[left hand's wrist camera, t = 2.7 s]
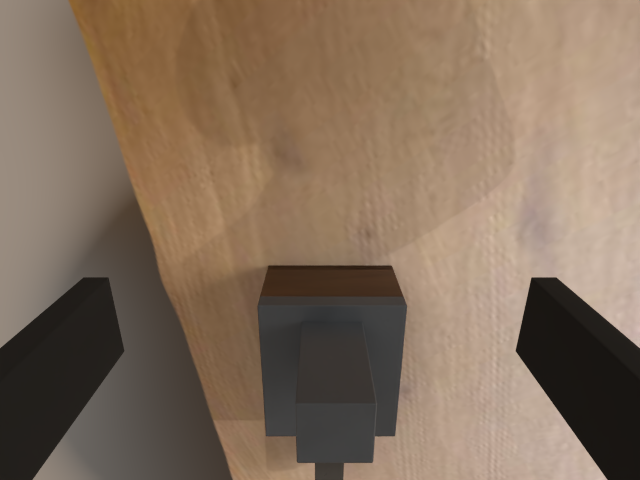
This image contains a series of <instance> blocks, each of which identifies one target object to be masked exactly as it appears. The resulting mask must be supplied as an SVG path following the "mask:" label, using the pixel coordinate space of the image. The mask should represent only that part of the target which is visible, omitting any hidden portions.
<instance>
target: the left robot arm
mask: <svg viewBox="0 0 640 480" xmlns="http://www.w3.org/2000/svg"><path fill="white" fill-rule="evenodd" d="M123 352H124V347H123V343H122V338H121V334H120V329H119V324H118V320H117V315H116V310H115V306H114V301H113V297H112V292H111V287H110V283H109V278H83V279H81V280H80V281H79V282H78V283H77V284H76V285H74V286H73V287H72V288H71V289H70V290H68V291H67V292H66V293H65V294H64V295H63V296H61V297H60V298H59V299H58V300H57V301H56V302H54V303H53V304H52V305H51V306H50V307H48V308H47V309H46V310H45V311H44V312H43V313H41V314H40V315H39V316H38V317H37V318H35V319H34V320H33V321H32V322H31V323H30V324H28V325H27V326H26V327H25V328H24V329H22V330H21V331H20V332H19V333H18V334H17V335H15V336H14V337H13V338H12V339H11V340H10V341H8V342H7V343H6V344H5V345H4V346H2V347H1V348H0V480H33V478H34V477H35V475H36V474H37V473H38V471H39V470H40V468H41V467H42V466H43V464H44V463H45V461H46V460H47V459H48V457H49V456H50V454H51V453H52V452H53V450H54V449H55V447H56V446H57V444H58V443H59V442H60V440H61V439H62V438H63V436H64V435H65V433H66V432H67V431H68V429H69V428H70V426H71V425H72V423H73V422H74V421H75V419H76V418H77V417H78V415H79V414H80V412H81V411H82V409H83V408H84V407H85V405H86V404H87V402H88V401H89V400H90V398H91V397H92V396H93V394H94V393H95V391H96V390H97V389H98V387H99V386H100V384H101V383H102V382H103V380H104V379H105V377H106V376H107V375H108V373H109V372H110V370H111V369H112V368H113V366H114V365H115V363H116V362H117V361H118V359H119V358H120V356H121V355H122V354H123ZM516 352H517V354H518V355H519V356H520V358H521V359H522V361H523V362H524V363H525V365H526V366H527V368H528V369H529V370H530V372H531V373H532V375H533V376H534V377H535V379H536V380H537V382H538V383H539V384H540V386H541V387H542V389H543V390H544V391H545V393H546V394H547V396H548V397H549V398H550V400H551V401H552V403H553V404H554V405H555V407H556V408H557V410H558V411H559V412H560V414H561V415H562V417H563V418H564V419H565V421H566V422H567V424H568V425H569V426H570V428H571V429H572V431H573V432H574V433H575V435H576V436H577V438H578V439H579V440H580V442H581V443H582V445H583V446H584V447H585V449H586V450H587V452H588V453H589V454H590V456H591V457H592V459H593V460H594V461H595V463H596V464H597V466H598V467H599V468H600V470H601V471H602V473H603V474H604V475H605V477H606V478H607V480H640V348H639V347H638V346H636V345H635V344H634V343H633V342H632V341H631V340H629V339H628V338H627V337H626V336H625V335H623V334H622V333H621V332H620V331H619V330H618V329H616V328H615V327H614V326H613V325H612V324H610V323H609V322H608V321H607V320H606V319H605V318H603V317H602V316H601V315H600V314H599V313H597V312H596V311H595V310H594V309H593V308H592V307H590V306H589V305H588V304H587V303H586V302H585V301H583V300H582V299H581V298H580V297H579V296H577V295H576V294H575V293H574V292H573V291H572V290H570V289H569V288H568V287H567V286H566V285H564V284H563V283H562V282H561V281H560V280H559V279H557V278H531V283H530V287H529V292H528V297H527V301H526V306H525V310H524V315H523V320H522V324H521V329H520V334H519V338H518V343H517V347H516Z"/></svg>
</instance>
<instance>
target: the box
mask: <svg viewBox="0 0 640 480" xmlns="http://www.w3.org/2000/svg"><path fill="white" fill-rule="evenodd" d="M260 297H403V294H402V292H401V289H400V286H399V284H398V281H397V279H396V276H395V273H394V271H393V268H392V266H268V270H267V273H266V277H265V281H264V284H263V288H262V292H261V295H260ZM343 470H344V463H315V480H343Z"/></svg>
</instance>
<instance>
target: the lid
mask: <svg viewBox="0 0 640 480" xmlns="http://www.w3.org/2000/svg"><path fill="white" fill-rule="evenodd" d="M406 311H407V305H406V302H405V299H404V297H260V299H259V303H258V320H259V335H260V350H261V366H262V381H263V396H264V412H265V427H266V436H296V446H297V462H298V463H373V455H374V440H375V436H395V431H396V420H397V409H398V398H399V387H400V377H401V366H402V355H403V344H404V333H405V322H406Z"/></svg>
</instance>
